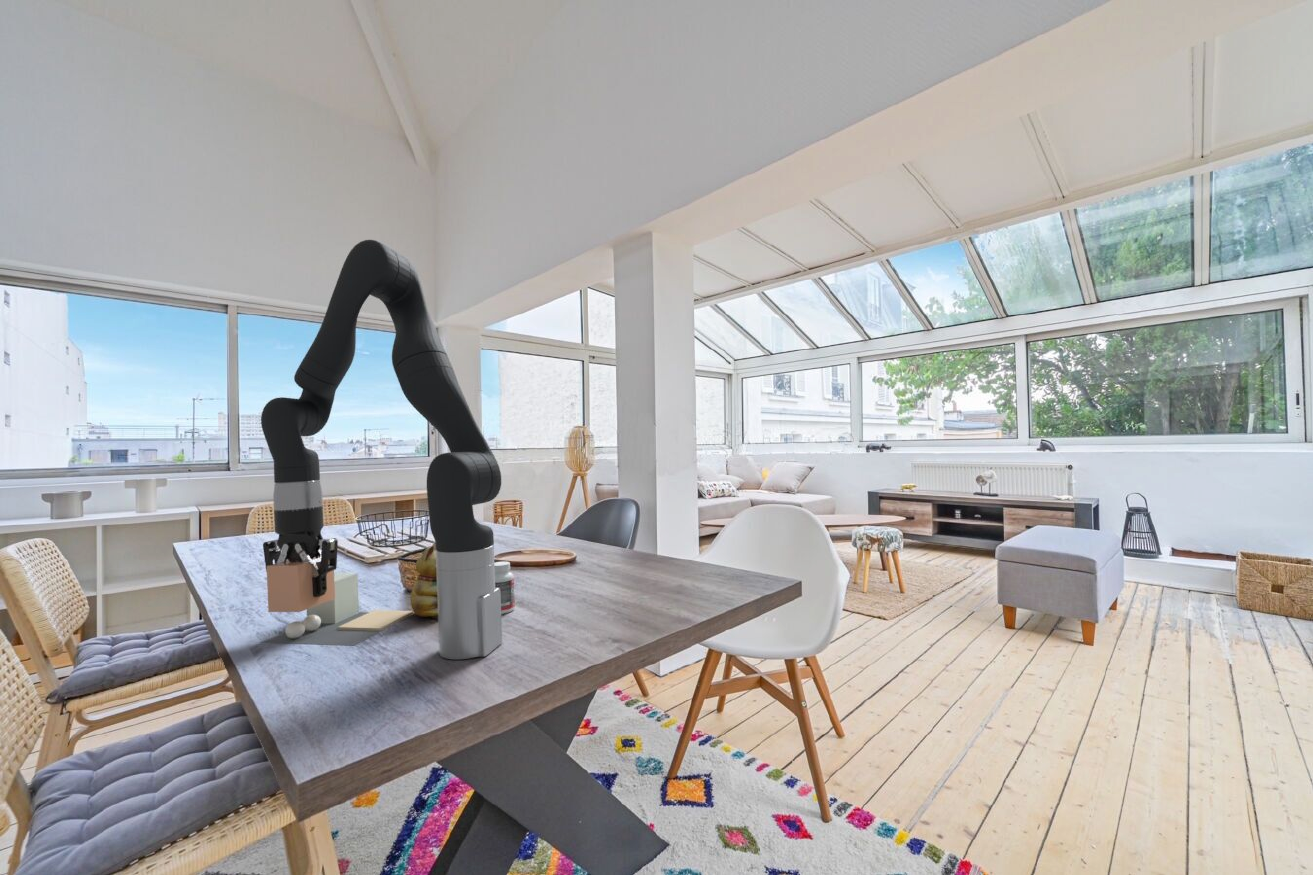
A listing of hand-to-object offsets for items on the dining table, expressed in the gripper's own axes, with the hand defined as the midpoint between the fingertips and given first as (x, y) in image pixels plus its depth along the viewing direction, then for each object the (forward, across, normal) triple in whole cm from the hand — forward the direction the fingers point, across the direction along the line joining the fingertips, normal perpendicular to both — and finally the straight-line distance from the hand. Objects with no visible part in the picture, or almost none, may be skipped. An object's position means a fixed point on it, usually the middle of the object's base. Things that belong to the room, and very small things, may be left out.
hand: (302, 595), depth 99 cm
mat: (+8, -4, -5) cm, 10 cm away
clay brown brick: (+2, 0, 0) cm, 2 cm away
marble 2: (+7, 0, -2) cm, 8 cm away
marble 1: (+7, 0, +2) cm, 7 cm away
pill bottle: (+8, -31, -17) cm, 36 cm away
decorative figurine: (+8, -18, -13) cm, 23 cm away
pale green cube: (+7, +2, -10) cm, 12 cm away
